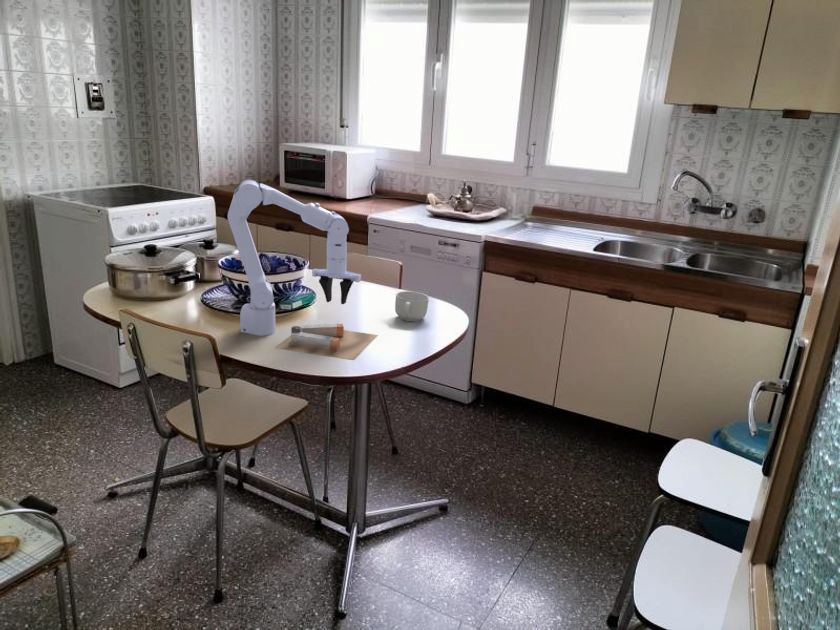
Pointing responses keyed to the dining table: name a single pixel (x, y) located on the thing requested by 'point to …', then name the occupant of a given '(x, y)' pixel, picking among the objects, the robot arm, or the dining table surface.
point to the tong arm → (324, 329)
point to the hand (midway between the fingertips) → (336, 302)
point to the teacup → (411, 305)
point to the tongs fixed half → (314, 340)
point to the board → (349, 345)
